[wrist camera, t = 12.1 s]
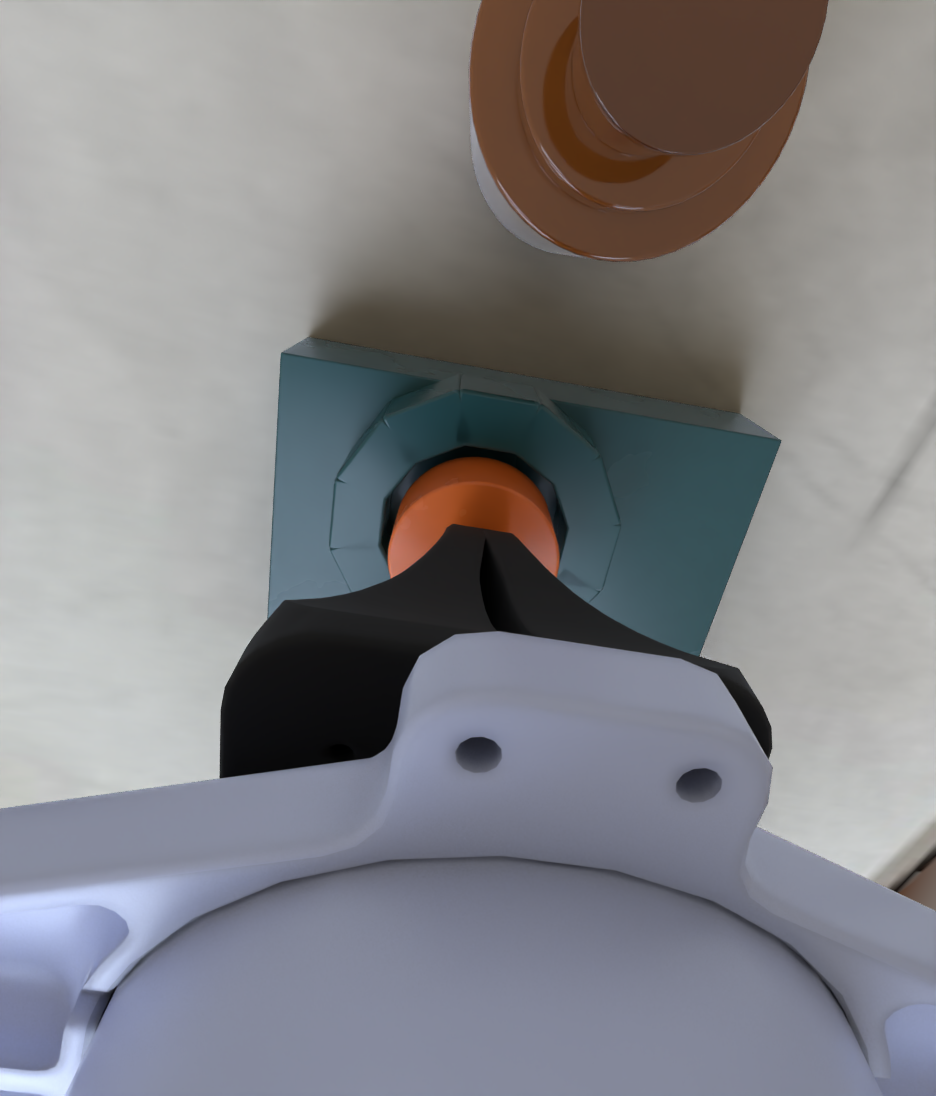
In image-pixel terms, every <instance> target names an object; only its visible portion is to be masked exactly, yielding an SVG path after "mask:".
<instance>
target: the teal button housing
mask: <svg viewBox="0 0 936 1096" xmlns="http://www.w3.org/2000/svg"><path fill="white" fill-rule="evenodd" d="M780 443H781V440H780V439H778V438H777V437H775V436H774V435H772V434H771V433H769V432H768V431H766V430H765V429H763V428H761V427H760V426H758V425H757V424H755V423H754V422H752V421H751V420H749V419H748V418H746V417H744V416H743V415H741V414H739V413H733V412H728V411H722V410H716V409H711V408H705V407H699V406H694V405H688V404H683V403H677V402H671V401H666V400H660V399H654V398H649V397H643V396H637V395H632V394H626V393H620V392H615V391H609V390H604V389H598V388H592V387H587V386H581V385H575V384H570V383H564V382H558V381H553V380H547V379H542V378H536V377H530V376H525V375H519V374H513V373H508V372H502V371H496V370H491V369H485V368H479V367H474V366H468V365H463V364H457V363H451V362H446V361H440V360H434V359H429V358H423V357H417V356H412V355H406V354H400V353H395V352H389V351H384V350H378V349H372V348H367V347H361V346H355V345H350V344H344V343H338V342H333V341H327V340H321V339H316V338H310V337H308V338H306V339H304V340H302V341H301V342H299V343H297V344H296V345H294V346H292V347H290V348H289V349H287V350H285V351H283V352H282V353H281V359H280V379H279V399H278V419H277V439H276V458H275V478H274V498H273V518H272V538H271V558H270V577H269V597H268V617H267V619H268V618H269V617H270V616H271V615H272V614H273V612H274V611H275V610H276V609H277V608H278V607H279V605H280V604H281V603H282V602H283V601H284V600H298V599H313V598H325V597H332V596H337V595H343V594H348V593H352V592H356V591H359V590H363V589H365V588H368V587H371V586H373V585H376V584H379V583H381V582H384V581H387V580H389V579H391V578H390V574H389V569H388V547H389V542H390V538H391V534H392V531H393V527H394V524H395V520H396V516H397V513H398V509H399V507H400V504H401V501H402V499H403V497H404V496H405V494H406V492H407V491H408V489H409V488H410V487H411V485H412V484H413V483H414V482H415V481H416V480H417V479H418V478H419V477H420V476H421V475H422V474H424V473H425V472H426V471H428V470H429V469H431V468H433V467H434V466H436V465H439V464H441V463H443V462H446V461H449V460H453V459H456V458H463V457H484V458H490V459H495V460H499V461H501V462H504V463H507V464H509V465H511V466H513V467H514V468H516V469H518V470H519V471H521V472H522V473H524V474H525V475H526V476H527V477H528V478H529V479H530V480H531V481H532V482H533V483H534V484H535V485H536V486H537V488H538V489H539V490H540V492H541V494H542V495H543V497H544V499H545V501H546V504H547V506H548V509H549V513H550V516H551V520H552V523H553V527H554V531H555V534H556V538H557V542H558V546H559V555H560V557H559V569H558V575H557V579H558V580H560V581H561V582H562V583H563V584H564V585H565V586H567V587H568V588H569V589H570V590H571V591H572V592H574V593H575V594H576V595H578V596H579V597H580V598H581V599H583V600H584V601H586V602H587V603H589V604H590V605H592V606H593V607H595V608H596V609H597V610H599V611H600V612H602V613H603V614H605V615H607V616H608V617H610V618H612V619H614V620H615V621H617V622H619V623H621V624H623V625H625V626H627V627H628V628H630V629H632V630H634V631H636V632H638V633H640V634H642V635H644V636H647V637H649V638H651V639H653V640H656V641H658V642H660V643H663V644H665V645H668V646H671V647H673V648H676V649H678V650H681V651H683V652H686V653H689V654H692V655H695V656H699V655H700V653H701V650H702V647H703V645H704V642H705V640H706V637H707V634H708V632H709V629H710V626H711V624H712V621H713V619H714V616H715V613H716V611H717V608H718V606H719V603H720V600H721V598H722V595H723V592H724V590H725V587H726V585H727V582H728V579H729V577H730V574H731V572H732V569H733V566H734V564H735V561H736V558H737V556H738V553H739V551H740V548H741V545H742V543H743V540H744V538H745V535H746V532H747V530H748V527H749V524H750V522H751V519H752V517H753V514H754V511H755V509H756V506H757V504H758V501H759V498H760V496H761V493H762V491H763V488H764V485H765V483H766V480H767V477H768V475H769V472H770V470H771V467H772V464H773V462H774V459H775V457H776V454H777V451H778V449H779V446H780Z"/></svg>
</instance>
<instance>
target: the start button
mask: <svg viewBox="0 0 936 1096" xmlns="http://www.w3.org/2000/svg"><path fill="white" fill-rule="evenodd" d="M451 524H458V525H464V526H470V527H476V528H483V529H489V530H495V531H501V532H508V533H512V534H514V535H515V536H516V537H517V538H518V539H519V540H520V541H521V542H522V543H523V544H524V545H525V546H526V547H527V549H528V550H529V551H530V552H531V553H532V554H533V555H534V556H535V557H536V558H537V559H538V560H539V561H540V562H541V563H542V564H543V565H544V566H545V567H546V568H547V569H548V570H549V571H550V572H551V573H552V574H553V575H554V576H555V577H556V578H557V575H558V569H559V557H560V555H559V546H558V542H557V538H556V534H555V531H554V527H553V523H552V520H551V516H550V513H549V509H548V506H547V504H546V501H545V499H544V497H543V495H542V494H541V492H540V490H539V489H538V488H537V486H536V485H535V484H534V483H533V482H532V481H531V480H530V479H529V478H528V477H527V476H526V475H525V474H524V473H522V472H521V471H519V470H518V469H516V468H514V467H513V466H511V465H509V464H507V463H504V462H501V461H499V460H495V459H490V458H484V457H463V458H456V459H453V460H449V461H446V462H443V463H441V464H439V465H436V466H434V467H433V468H431V469H429V470H428V471H426V472H425V473H424V474H422V475H421V476H420V477H419V478H418V479H417V480H416V481H415V482H414V483H413V484H412V485H411V487H410V488H409V489H408V491H407V492H406V494H405V496H404V497H403V499H402V501H401V504H400V507H399V509H398V513H397V516H396V520H395V524H394V527H393V531H392V534H391V538H390V542H389V547H388V569H389V574H390V578H393V577H395V576H396V575H398V574H400V573H401V572H403V571H404V570H406V569H407V568H409V567H410V566H411V565H412V564H414V563H415V562H416V561H417V560H419V559H420V558H421V557H422V556H423V555H425V554H426V553H427V552H428V551H429V550H430V549H431V548H432V547H433V546H434V545H435V543H436V542H437V541H438V540H439V539H440V538H441V536H442V535H443V533H444V532H445V530H446V528H447V527H448V526H450V525H451Z"/></svg>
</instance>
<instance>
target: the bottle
mask: <svg viewBox="0 0 936 1096" xmlns="http://www.w3.org/2000/svg"><path fill="white" fill-rule="evenodd" d="M828 1H829V0H481V3H480V6H479V9H478V12H477V16H476V21H475V26H474V31H473V36H472V41H471V50H470V61H469V104H470V138H471V154H472V162H473V167H474V171H475V175H476V179H477V182H478V185H479V187H480V190H481V193H482V195H483V197H484V199H485V201H486V203H487V204H488V206H489V208H490V209H491V211H492V212H493V214H494V215H495V216H496V218H497V219H498V220H499V221H500V222H501V224H502V225H503V226H504V227H505V228H506V229H507V230H508V231H510V232H511V233H512V234H513V235H514V236H516V237H517V238H518V239H520V240H522V241H523V242H525V243H527V244H528V245H530V246H533V247H535V248H537V249H540V250H543V251H547V252H550V253H555V254H561V255H568V256H574V257H581V258H587V259H594V260H602V261H610V262H635V261H641V260H647V259H653V258H657V257H660V256H664V255H667V254H670V253H673V252H676V251H678V250H681V249H683V248H685V247H687V246H689V245H691V244H694V243H696V242H697V241H699V240H700V239H702V238H704V237H705V236H707V235H709V234H710V233H712V232H713V231H715V230H716V229H717V228H718V227H720V226H721V225H722V224H724V223H725V222H726V221H727V220H729V219H730V218H731V217H732V216H733V215H734V214H735V213H736V212H737V211H738V210H739V209H740V208H741V207H742V206H743V205H744V204H745V203H746V202H747V201H748V200H749V199H750V198H751V197H752V195H753V194H754V193H755V192H756V190H757V189H758V188H759V187H760V185H761V184H762V183H763V182H764V180H765V179H766V177H767V176H768V174H769V173H770V171H771V169H772V168H773V166H774V165H775V163H776V162H777V160H778V158H779V156H780V154H781V152H782V150H783V148H784V146H785V144H786V142H787V140H788V138H789V136H790V134H791V131H792V129H793V126H794V123H795V121H796V118H797V116H798V113H799V110H800V106H801V102H802V99H803V95H804V91H805V87H806V82H807V76H808V70H809V64H810V62H811V60H812V58H813V56H814V54H815V51H816V48H817V46H818V43H819V40H820V37H821V34H822V30H823V26H824V22H825V19H826V13H827V7H828Z"/></svg>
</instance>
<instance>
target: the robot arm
mask: <svg viewBox="0 0 936 1096" xmlns="http://www.w3.org/2000/svg"><path fill="white" fill-rule="evenodd" d="M771 750H772V732H771V725H770V723H769V721H768V718H767V716H766V713H765V711H764V709H763V707H762V705H761V704H760V702H759V700H758V699H757V697H756V696H755V694H754V692H753V691H752V689H751V687H750V686H749V684H748V683H747V681H746V679H745V678H744V676H743V675H742V673H741V672H740V670H739V669H738V668H736V667H732V666H729V665H726V664H722V663H719V662H716V661H712V660H709V659H706V658H702V657H699V656H695V655H692V654H689V653H686V652H683V651H681V650H678V649H676V648H673V647H671V646H668V645H665V644H663V643H660V642H658V641H656V640H653V639H651V638H649V637H647V636H644V635H642V634H640V633H638V632H636V631H634V630H632V629H630V628H628V627H627V626H625V625H623V624H621V623H619V622H617V621H615V620H614V619H612V618H610V617H608V616H607V615H605V614H603V613H602V612H600V611H599V610H597V609H596V608H595V607H593V606H592V605H590V604H589V603H587V602H586V601H584V600H583V599H581V598H580V597H579V596H578V595H576V594H575V593H574V592H572V591H571V590H570V589H569V588H568V587H567V586H565V585H564V584H563V583H562V582H561V581H560V580H558V579H557V578H556V577H555V576H554V575H553V574H552V573H551V572H550V571H549V570H548V569H547V568H546V567H545V566H544V565H543V564H542V563H541V562H540V561H539V560H538V559H537V558H536V557H535V556H534V555H533V554H532V553H531V552H530V551H529V550H528V549H527V547H526V546H525V545H524V544H523V543H522V542H521V541H520V540H519V539H518V538H517V537H516V536H515V535H514V534H512V533H508V532H501V531H495V530H489V529H483V528H476V527H470V526H464V525H458V524H451V525H450V526H448V527H447V528H446V530H445V532H444V533H443V535H442V536H441V538H440V539H439V540H438V541H437V542H436V543H435V545H434V546H433V547H432V548H431V549H430V550H429V551H428V552H427V553H426V554H425V555H423V556H422V557H421V558H420V559H419V560H417V561H416V562H415V563H414V564H412V565H411V566H410V567H409V568H407V569H406V570H404V571H403V572H401V573H400V574H398V575H396V576H395V577H393V578H391V579H389V580H387V581H384V582H381V583H379V584H376V585H373V586H371V587H368V588H365V589H363V590H359V591H356V592H352V593H348V594H343V595H337V596H332V597H325V598H313V599H298V600H284V601H283V602H282V603H281V604H280V605H279V607H278V608H277V609H276V610H275V611H274V612H273V614H272V615H271V616H270V617H269V618H268V619H267V621H266V622H265V623H264V624H263V625H262V627H261V628H260V629H259V630H258V632H257V633H256V634H255V635H254V637H253V638H252V640H251V641H250V643H249V644H248V646H247V647H246V649H245V651H244V653H243V654H242V656H241V658H240V660H239V662H238V664H237V666H236V667H235V669H234V671H233V673H232V675H231V677H230V679H229V681H228V682H227V684H226V686H225V690H224V695H223V700H222V706H221V728H220V779H213V780H206V781H198V782H191V783H184V784H176V785H169V786H162V787H154V788H147V789H140V790H132V791H125V792H118V793H110V794H103V795H96V796H88V797H81V798H74V799H67V800H59V801H52V802H45V803H37V804H30V805H23V806H15V807H8V808H1V809H0V1096H936V911H935V910H933V909H930V908H928V907H926V906H924V905H922V904H920V903H918V902H915V901H913V900H911V899H909V898H907V897H905V896H903V895H901V894H899V893H897V892H894V891H892V890H890V889H888V888H886V887H884V886H882V885H880V884H877V883H875V882H873V881H871V880H869V879H867V878H865V877H863V876H861V875H858V874H856V873H854V872H852V871H850V870H848V869H846V868H844V867H841V866H839V865H837V864H835V863H833V862H831V861H829V860H827V859H825V858H822V857H820V856H818V855H816V854H814V853H812V852H810V851H808V850H805V849H803V848H801V847H799V846H797V845H795V844H793V843H791V842H789V841H786V840H784V839H782V838H780V837H778V836H776V835H774V834H772V833H769V832H767V831H765V830H763V829H761V828H759V827H757V824H758V822H759V820H760V818H761V816H762V814H763V812H764V810H765V808H766V806H767V804H768V799H769V791H770V784H771V777H772V769H773V767H772V765H771V763H770V762H769V757H770V753H771Z"/></svg>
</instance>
